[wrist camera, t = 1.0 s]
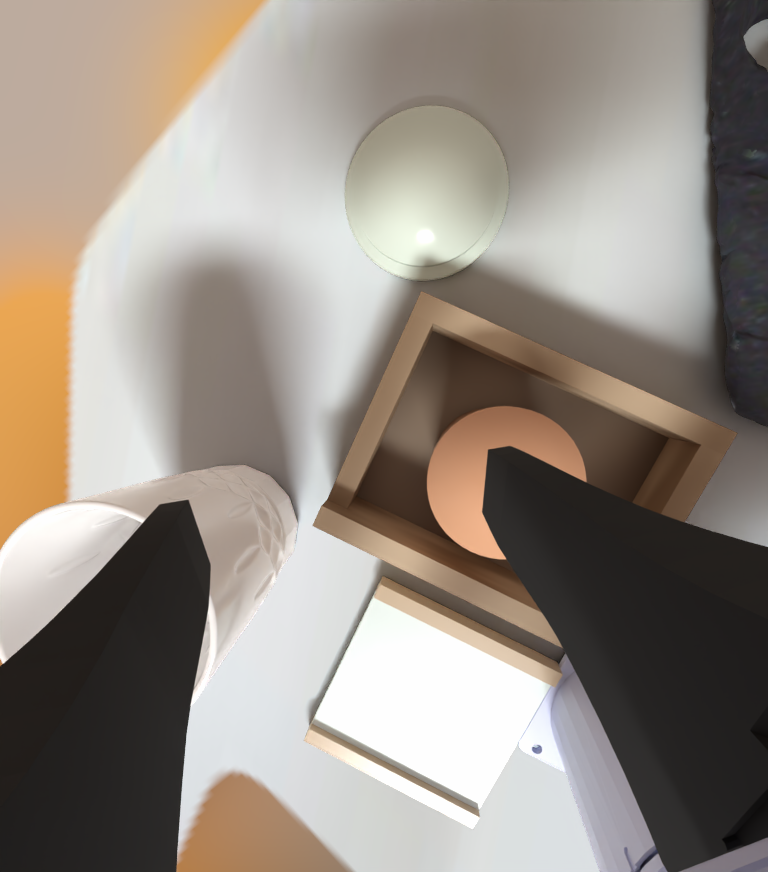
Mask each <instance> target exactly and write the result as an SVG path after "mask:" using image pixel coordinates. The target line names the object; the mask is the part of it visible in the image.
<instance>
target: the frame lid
mask: <svg viewBox="0 0 768 872" xmlns="http://www.w3.org/2000/svg"><path fill="white" fill-rule="evenodd" d="M562 675H563V674H562V671H561V669H560V667H559V665H558V663H557V662H556V661H554V660H552V659H550V658H548V657H546V656H544V655H542V654H540V653H538V652H536V651H534V650H532V649H530V648H528V647H526V646H524V645H522V644H520V643H518V642H516V641H514V640H512V639H510V638H508V637H506V636H504V635H502V634H500V633H498V632H496V631H494V630H491V629H489V628H487V627H485V626H483V625H481V624H479V623H477V622H475V621H473V620H471V619H469V618H467V617H465V616H463V615H461V614H459V613H457V612H455V611H453V610H451V609H449V608H447V607H445V606H443V605H441V604H439V603H437V602H435V601H433V600H431V599H428V598H426V597H424V596H422V595H420V594H418V593H416V592H414V591H412V590H410V589H408V588H406V587H404V586H402V585H400V584H398V583H396V582H394V581H392V580H390V579H388V578H386V577H384V576H382V578H381V580H380V582H379V584H378V586H377V588H376V590H375V592H374V594H373V596H372V598H371V601H370V603H369V605H368V607H367V609H366V611H365V613H364V615H363V617H362V619H361V621H360V623H359V625H358V627H357V629H356V631H355V633H354V635H353V637H352V640H351V642H350V644H349V646H348V648H347V650H346V652H345V654H344V656H343V658H342V660H341V662H340V664H339V666H338V668H337V670H336V672H335V674H334V676H333V679H332V681H331V683H330V685H329V687H328V689H327V691H326V693H325V695H324V697H323V699H322V701H321V703H320V705H319V707H318V709H317V711H316V713H315V715H314V718H313V720H312V722H311V724H310V726H309V728H308V731H307V734H306V736H305V739H304V741H305V742H307V743H309V744H311V745H313V746H315V747H316V748H318V749H320V750H322V751H324V752H326V753H328V754H330V755H332V756H334V757H336V758H338V759H339V760H341V761H343V762H345V763H347V764H349V765H351V766H353V767H355V768H357V769H359V770H361V771H362V772H364V773H366V774H368V775H370V776H372V777H374V778H376V779H378V780H380V781H382V782H384V783H385V784H387V785H389V786H391V787H393V788H395V789H397V790H399V791H401V792H403V793H405V794H407V795H408V796H410V797H412V798H414V799H416V800H418V801H420V802H422V803H424V804H426V805H428V806H430V807H431V808H433V809H435V810H437V811H439V812H441V813H443V814H445V815H447V816H449V817H451V818H453V819H454V820H456V821H458V822H460V823H462V824H464V825H466V826H468V827H470V828H472V829H473V828H474V826H475V824H476V823H477V821H478V819H479V818H480V817H479V809H480V807H481V805H482V804H483V802H484V800H485V799H486V797H487V795H488V793H489V792H490V790H491V788H492V786H493V785H494V783H495V781H496V780H497V778H498V776H499V774H500V773H501V771H502V769H503V768H504V766H505V764H506V762H507V761H508V759H509V757H510V755H511V754H512V752H513V750H514V749H515V747H516V745H517V743H518V742H519V740H520V738H521V737H522V735H523V733H524V731H525V730H526V728H527V726H528V725H529V723H530V721H531V719H532V718H533V716H534V714H535V712H536V711H537V709H538V707H539V706H540V704H541V702H542V700H543V699H544V697H545V695H546V694H547V692H548V690H549V688H550V687H551V686H553V687H556V686H557V684H558V682H559V680H560V679H561V677H562Z"/></svg>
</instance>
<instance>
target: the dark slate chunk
mask: <svg viewBox="0 0 768 872" xmlns="http://www.w3.org/2000/svg"><path fill="white" fill-rule="evenodd" d="M712 2H713V6H714V9H715V13H716V17H715V24H714V29H713V41H714V48H713V57H712V81H711V93H710V107H711V109H712V111H713V112H714V116H713V119H712V122H711V126H710V131H711V135H712V138H711V139H712V143H713V144H714V145H715V147H714V148H713V149H712V150H713V156H712V162H713V165H714V168H715V171H716V176H715V180H714V183H715V185H716V187H717V190H718V204H719V208H718V215H717V241H718V244H719V246H720V254H721V258H722V264H721V267H720V272H719V276H720V281H721V284H722V292H723V293H722V296H723V304H724V314H723V319H724V323H725V327H726V333H727V341H728V343H727V349H726V361H725V378H726V383H727V388H728V391H729V394H730V400H731V403H732V405H733V408H734V410H735V411H736V413H738V414H739V415H741V416H743V417H745V418H748V419H750V420H753V421H755V422H757V423H759V424H762V425H765V426H768V72H767V70H766V68H764V67H762V66H760V65H758V64H757V61H756V60H755V59H754V58H753V57H752V56H751V55H750V54H749V52H748V51H747V49H746V46H745V42H744V38H743V36H744V35H745V33H746V32H747V31H748V29H749V28H750V27H751V26H753V25H754V24H756V23H758V22H760V21H762V20H765V19H768V0H712Z"/></svg>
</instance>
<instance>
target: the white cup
mask: <svg viewBox="0 0 768 872" xmlns="http://www.w3.org/2000/svg"><path fill="white" fill-rule="evenodd" d="M188 499H189V502H190V505H191V508H192V511H193V514H194V517H195V520H196V523H197V526H198V529H199V532H200V535H201V537H202V540H203V543H204V546H205V549H206V552H207V555H208V558H209V561H210V564H211V575H210V595H209V608H208V614H207V620H206V625H205V631H204V636H203V642H202V647H201V653H200V658H199V663H198V669H197V674H196V679H195V685H194V690H193V695H192V701H191V706H192V705H193V703H194V702H195V701H196V700H197V698H198V697H199V696H200V694H201V693H202V691H203V690H204V688H205V687H206V685H207V684H208V682H209V681H210V680H211V678H212V677H213V675H214V674H215V672H216V671H217V669H218V668H219V666H220V665H221V664H222V662H223V661H224V659H225V658H226V656H227V654H228V653H229V652H230V650H231V649H232V647H233V646H234V644H235V643H236V641H237V640H238V638H239V637H240V635H241V634H242V633H243V631H244V630H245V629H246V627H247V626H248V625H249V623H250V622H251V620H252V619H253V617H254V616H255V614H256V612H257V610H258V609H259V607H260V606H261V604H262V603H263V602H264V600H265V598H266V597H267V595H268V593H269V592H270V590H271V589H272V587H273V586H274V584H275V581H276V578H277V576H278V574H279V572H280V571H281V569H282V568H283V566H284V565H285V563H286V562H287V561H288V559H289V558H290V556H291V555H292V553H293V552H294V548H295V541H296V534H297V527H298V522H297V519H296V516H295V513H294V510H293V506H292V503H291V500H290V497H289V496H288V495H287V494H286V492H285V491H284V490H283V489H282V488H281V487H280V486H279V485H278V484H277V482H276V481H275V480H274V479H273V478H272V477H271V476H270V475H267V474H265V473H263V472H260V471H258V470H256V469H254V468H251V467H249V466H247V465H227V466H215V467H212V468H208V469H204V470H196V471H191V472H186V473H181V474H178V475H172V476H167V477H163V478H159V479H155V480H151V481H147V482H143V483H139V484H135V485H132V486H128V487H124V488H120V489H116V490H112V491H109V492H105V493H101V494H97V495H93V496H89V497H85V498H81V499H77V500H73V501H69V502H65V503H61V504H58V505H55V506H52V507H49V508H47V509H44V510H42V511H40V512H38V513H37V514H35V515H33V516H32V517H30V518H29V519H27V520H26V521H25V522H23V523H22V524H21V525H20V526H19V527H18V528H17V529H16V530H15V531H14V532H13V533H12V534H11V535H10V537H9V538H8V539H7V540H6V542H5V543H4V545H3V546H2V548H1V550H0V659H1V661H2V663H5V662H6V661H7V660H8V659H9V658H10V657H11V656H13V655H14V654H15V653H16V652H17V651H18V650H19V649H21V648H22V647H23V646H24V645H25V644H26V643H27V642H28V641H30V640H31V639H32V638H33V637H34V636H35V635H36V634H37V633H38V632H39V631H40V630H41V629H43V628H44V627H45V626H46V625H47V624H48V623H49V622H50V621H51V620H52V619H53V618H54V617H55V616H56V615H57V614H58V613H59V612H60V611H61V610H62V609H63V608H64V607H65V606H66V605H67V604H68V603H69V602H70V601H71V600H72V599H73V598H74V597H75V596H76V595H77V594H78V593H79V592H80V591H81V590H82V589H83V588H84V587H85V586H86V585H87V584H88V583H89V582H90V581H91V580H92V579H93V578H94V577H95V576H96V574H97V573H98V572H99V571H100V570H101V569H102V568H103V567H104V566H105V565H106V564H107V562H108V561H109V560H110V559H111V558H112V557H113V556H114V555H115V554H116V552H117V551H118V550H119V549H120V548H121V547H122V546H123V545H124V544H125V543H126V541H127V540H128V539H129V538H130V537H131V536H132V535H133V533H134V532H135V531H136V530H137V529H138V528H139V527H140V525H141V524H142V523H143V522H144V521H145V520H146V519H147V517H148V516H149V515H150V514H151V513H152V512H153V511H154V510H155V509H156V508H157V506H158V505H159V504H164V503H170V502H176V501H182V500H188ZM191 706H190V707H191Z"/></svg>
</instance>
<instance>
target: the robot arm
mask: <svg viewBox="0 0 768 872" xmlns="http://www.w3.org/2000/svg"><path fill="white" fill-rule="evenodd" d="M482 513H483V516H484V518H485V520H486V522H487V524H488V527H489V529H490V531H491V533H492V535H493V537H494V539H495V541H496V543H497V545H498V547H499V548H500V550H501V551H502V553H503V555H504V556H505V558H506V559H507V561H508V562H509V564H510V565H511V567H512V568H513V570H514V572H515V573H516V575H517V576H518V578H519V579H520V581H521V582H522V584H523V585H524V587H525V588H526V590H527V591H528V593H529V594H530V596H531V597H532V599H533V600H534V602H535V603H536V605H537V606H538V608H539V609H540V611H541V612H542V614H543V615H544V617H545V618H546V620H547V621H548V623H549V625H550V626H551V628H552V630H553V631H554V633H555V635H556V636H557V638H558V640H559V642H560V644H561V646H562V647H563V649H564V651H565V655H564V656H563V658H562V660H561V662H560V663H559V667H560V669H561V671H562V674H563V675H562V677H561V679H560V680H559V682H558V684H557V686H556V687H553V686H551V687H550V688H549V690H548V692H547V694H546V695H545V697H544V699H543V700H542V702H541V704H540V706H539V707H538V709H537V711H536V712H535V714H534V716H533V718H532V719H531V721H530V723H529V725H528V726H527V728H526V730H525V731H524V733H523V735H522V737H521V738H520V740H519V742H518V746H519V748H520V749H521V750H522V751H523V752H525V753H527V754H529V755H531V756H533V757H535V758H537V759H539V760H541V761H543V762H545V763H547V764H549V765H551V766H553V767H555V768H557V769H559V770H561V771H563V772H565V773H566V775H567V778H568V781H569V784H570V787H571V790H572V793H573V795H574V798H575V801H576V804H577V807H578V810H579V813H580V816H581V819H582V822H583V825H584V827H585V830H586V833H587V836H588V839H589V842H590V845H591V848H592V851H593V854H594V856H595V859H596V862H597V865H598V868H599V871H600V872H768V547H765V546H762V545H758V544H754V543H750V542H746V541H743V540H740V539H736V538H733V537H729V536H726V535H723V534H719V533H716V532H712V531H709V530H706V529H703V528H700V527H697V526H694V525H690V524H687V523H685V522H682V521H679V520H676V519H674V518H671V517H668V516H665V515H662V514H660V513H657V512H654V511H651V510H649V509H646V508H644V507H641V506H639V505H636V504H634V503H632V502H629V501H627V500H625V499H622V498H620V497H618V496H615V495H613V494H611V493H608V492H606V491H604V490H602V489H600V488H598V487H595V486H593V485H591V484H589V483H587V482H585V481H583V480H581V479H579V478H576V477H574V476H572V475H570V474H568V473H566V472H564V471H562V470H560V469H558V468H556V467H554V466H552V465H550V464H548V463H546V462H544V461H542V460H540V459H538V458H536V457H534V456H532V455H530V454H528V453H526V452H524V451H522V450H519V449H517V448H515V447H512V446H506V447H500V448H494V449H488V454H487V465H486V476H485V486H484V497H483V508H482ZM210 575H211V564H210V561H209V558H208V555H207V552H206V549H205V546H204V543H203V540H202V537H201V535H200V532H199V529H198V526H197V523H196V520H195V517H194V514H193V511H192V508H191V505H190V502H189V499H188V500H182V501H176V502H170V503H164V504H159V505H158V506H157V508H156V509H155V510H154V511H153V512H152V513H151V514H150V515H149V516H148V517H147V519H146V520H145V521H144V522H143V523H142V524H141V525H140V527H139V528H138V529H137V530H136V531H135V532H134V533H133V535H132V536H131V537H130V538H129V539H128V540H127V541H126V543H125V544H124V545H123V546H122V547H121V548H120V549H119V550H118V551H117V552H116V554H115V555H114V556H113V557H112V558H111V559H110V560H109V561H108V562H107V564H106V565H105V566H104V567H103V568H102V569H101V570H100V571H99V572H98V573H97V574H96V576H95V577H94V578H93V579H92V580H91V581H90V582H89V583H88V584H87V585H86V586H85V587H84V588H83V589H82V590H81V591H80V592H79V593H78V594H77V595H76V596H75V597H74V598H73V599H72V600H71V601H70V602H69V603H68V604H67V605H66V606H65V607H64V608H63V609H62V610H61V611H60V612H59V613H58V614H57V615H56V616H55V617H54V618H53V619H52V620H51V621H50V622H49V623H48V624H47V625H46V626H45V627H44V628H43V629H41V630H40V631H39V632H38V633H37V634H36V635H35V636H34V637H33V638H32V639H31V640H30V641H28V642H27V643H26V644H25V645H24V646H23V647H22V648H21V649H19V650H18V651H17V652H16V653H15V654H14V655H13V656H11V657H10V658H9V659H8V660H7V661H6V662H5V663H3V664H2V665H1V666H0V872H176V866H177V847H178V833H179V819H180V805H181V791H182V778H183V767H184V756H185V744H186V733H187V726H188V719H189V712H190V706H191V701H192V695H193V690H194V685H195V679H196V674H197V669H198V663H199V658H200V653H201V647H202V642H203V636H204V631H205V625H206V620H207V614H208V608H209V595H210ZM534 745H540V746H539V747H537V748H535V747H533V746H534Z"/></svg>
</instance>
